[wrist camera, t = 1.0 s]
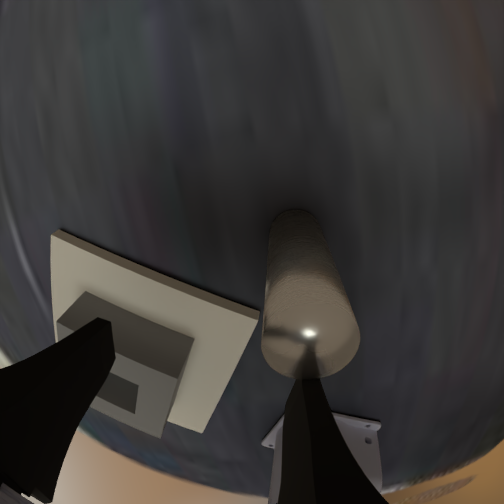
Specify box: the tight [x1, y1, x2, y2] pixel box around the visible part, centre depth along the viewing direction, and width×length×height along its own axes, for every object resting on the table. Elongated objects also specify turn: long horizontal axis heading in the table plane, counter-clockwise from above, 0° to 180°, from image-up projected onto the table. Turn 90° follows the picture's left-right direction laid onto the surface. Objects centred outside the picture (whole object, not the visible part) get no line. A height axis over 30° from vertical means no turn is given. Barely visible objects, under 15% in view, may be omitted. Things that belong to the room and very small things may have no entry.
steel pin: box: [261, 210, 360, 380], centre depth 14 cm, size 3×3×10 cm
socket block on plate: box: [51, 230, 260, 438], centre depth 22 cm, size 16×16×5 cm
